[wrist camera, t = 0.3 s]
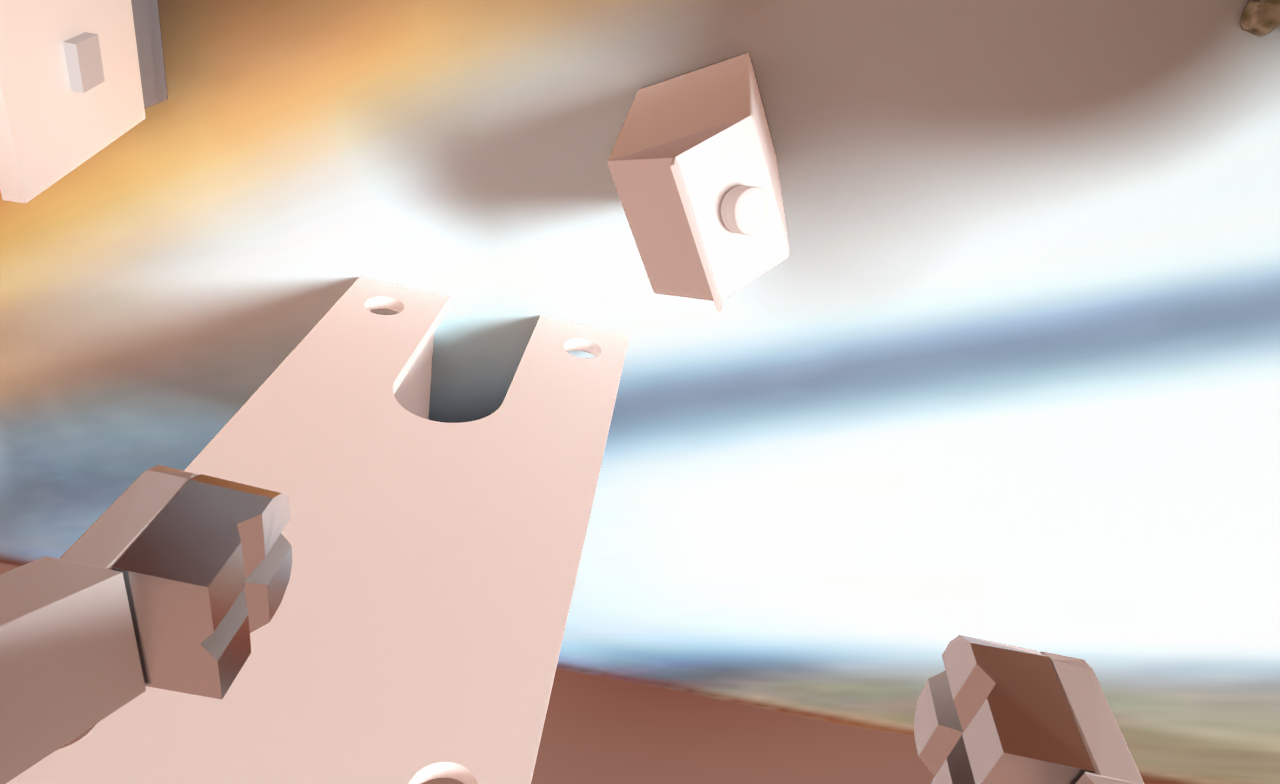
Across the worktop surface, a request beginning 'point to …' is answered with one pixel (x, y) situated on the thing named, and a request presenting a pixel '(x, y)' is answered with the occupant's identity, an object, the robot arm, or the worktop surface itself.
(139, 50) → the shallow grey box
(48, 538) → the worktop surface
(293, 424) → the white bracket plate
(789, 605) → the worktop surface
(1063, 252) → the worktop surface
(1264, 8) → the samovar
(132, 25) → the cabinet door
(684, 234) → the milk carton
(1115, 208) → the worktop surface
